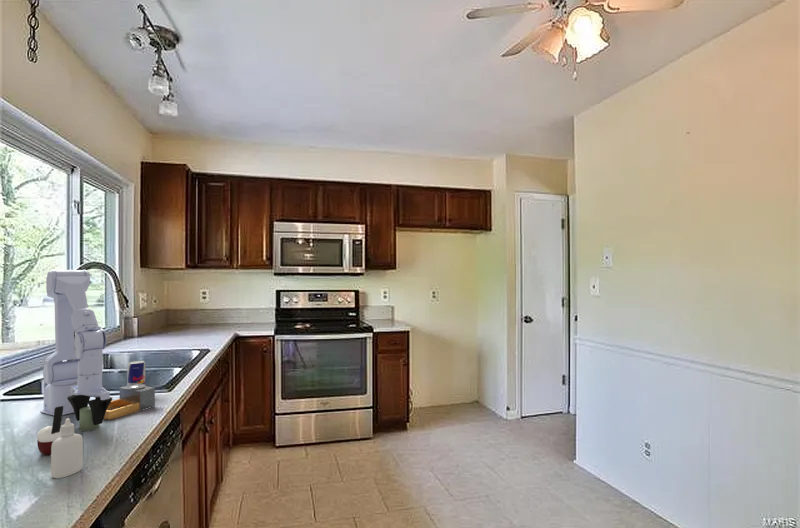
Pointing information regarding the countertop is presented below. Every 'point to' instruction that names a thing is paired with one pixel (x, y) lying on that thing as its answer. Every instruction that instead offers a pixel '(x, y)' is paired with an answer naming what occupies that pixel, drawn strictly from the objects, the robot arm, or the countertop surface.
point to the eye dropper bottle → (66, 452)
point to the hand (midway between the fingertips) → (89, 421)
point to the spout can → (86, 419)
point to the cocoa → (50, 433)
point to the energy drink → (136, 373)
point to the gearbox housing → (131, 400)
